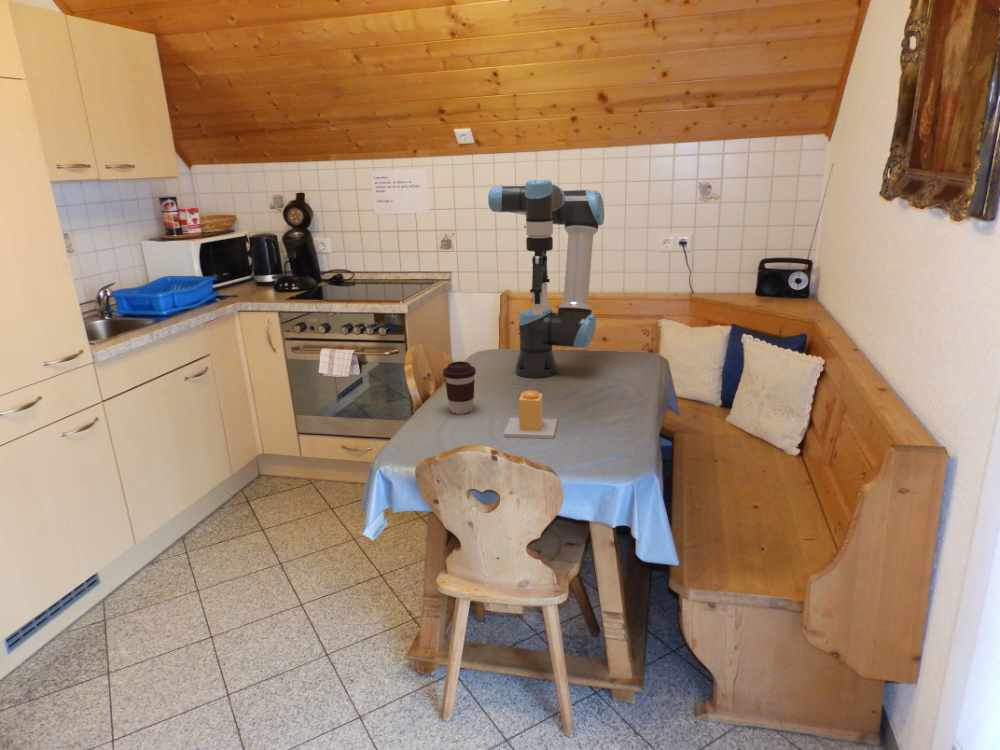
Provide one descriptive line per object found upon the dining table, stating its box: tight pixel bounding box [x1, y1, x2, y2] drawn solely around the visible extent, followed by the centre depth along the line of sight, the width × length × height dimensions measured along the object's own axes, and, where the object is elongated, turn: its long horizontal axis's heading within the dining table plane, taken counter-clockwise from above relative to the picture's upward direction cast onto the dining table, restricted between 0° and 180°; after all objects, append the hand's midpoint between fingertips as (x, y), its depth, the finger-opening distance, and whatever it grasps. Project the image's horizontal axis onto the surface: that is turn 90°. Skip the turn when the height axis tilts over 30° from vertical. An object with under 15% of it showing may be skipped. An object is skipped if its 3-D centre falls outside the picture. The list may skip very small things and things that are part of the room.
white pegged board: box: [503, 417, 558, 440], centre depth 193 cm, size 12×14×7 cm
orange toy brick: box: [518, 389, 544, 431], centre depth 192 cm, size 6×6×10 cm
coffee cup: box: [442, 361, 477, 415], centre depth 208 cm, size 10×10×15 cm
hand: (540, 309), depth 198 cm, fingers open, 13 cm apart
